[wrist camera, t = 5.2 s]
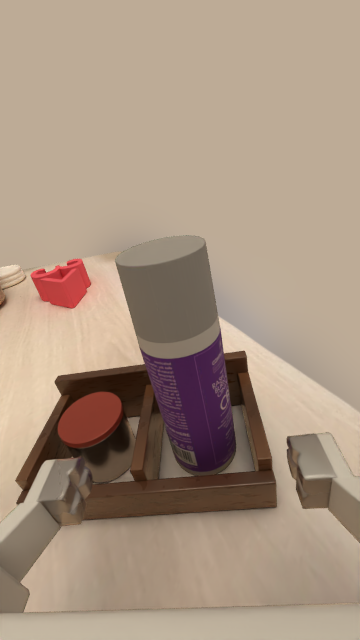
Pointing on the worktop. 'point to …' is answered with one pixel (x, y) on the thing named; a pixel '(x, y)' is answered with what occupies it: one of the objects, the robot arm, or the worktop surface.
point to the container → (182, 347)
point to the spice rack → (158, 450)
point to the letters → (62, 283)
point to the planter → (1, 295)
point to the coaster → (10, 276)
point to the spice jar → (99, 435)
